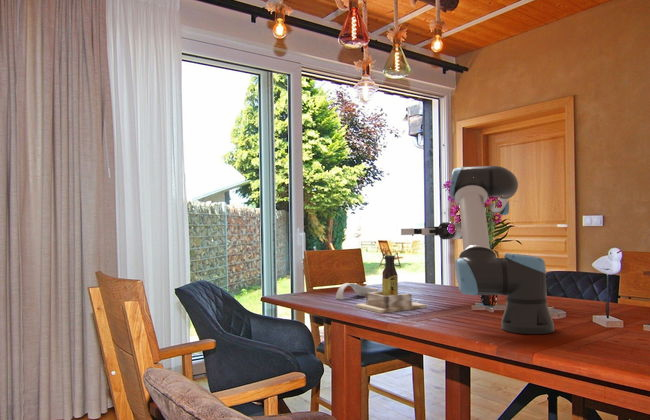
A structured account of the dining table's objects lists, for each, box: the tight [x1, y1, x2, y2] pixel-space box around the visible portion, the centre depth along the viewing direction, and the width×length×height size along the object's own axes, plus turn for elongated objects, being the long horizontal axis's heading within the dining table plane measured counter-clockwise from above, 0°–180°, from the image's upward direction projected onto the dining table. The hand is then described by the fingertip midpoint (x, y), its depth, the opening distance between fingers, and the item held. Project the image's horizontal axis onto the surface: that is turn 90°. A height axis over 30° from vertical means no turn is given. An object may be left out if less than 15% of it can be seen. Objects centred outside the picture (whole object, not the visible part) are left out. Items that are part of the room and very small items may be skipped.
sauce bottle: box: [381, 254, 399, 296], centre depth 201 cm, size 7×6×20 cm
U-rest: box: [355, 291, 427, 314], centre depth 201 cm, size 22×18×6 cm
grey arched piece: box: [335, 282, 379, 301], centre depth 234 cm, size 24×12×7 cm, turn 131°
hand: (411, 231), depth 206 cm, fingers open, 13 cm apart
